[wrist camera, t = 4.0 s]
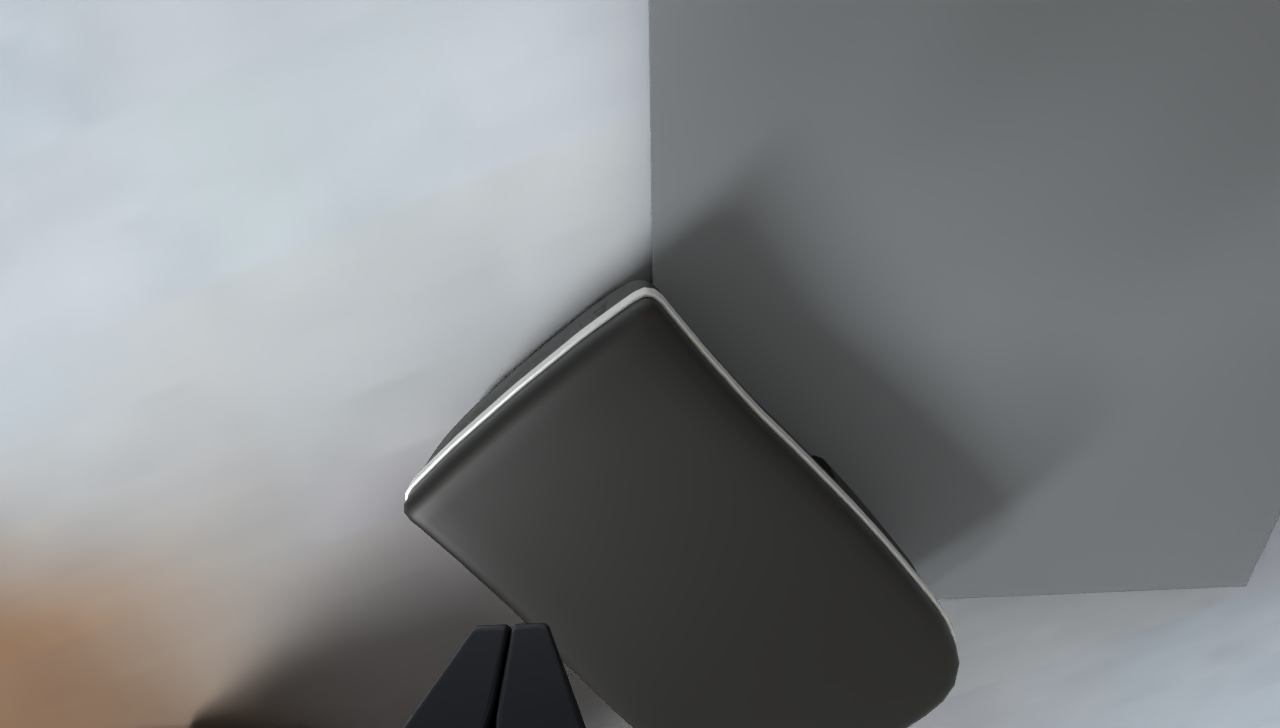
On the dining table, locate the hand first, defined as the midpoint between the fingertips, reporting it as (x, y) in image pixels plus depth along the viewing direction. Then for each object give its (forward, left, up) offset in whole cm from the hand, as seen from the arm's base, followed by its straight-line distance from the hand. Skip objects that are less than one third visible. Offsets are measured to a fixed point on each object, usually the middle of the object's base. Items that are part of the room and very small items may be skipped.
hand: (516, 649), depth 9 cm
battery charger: (-1, +1, -8) cm, 8 cm away
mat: (0, -10, -10) cm, 14 cm away
